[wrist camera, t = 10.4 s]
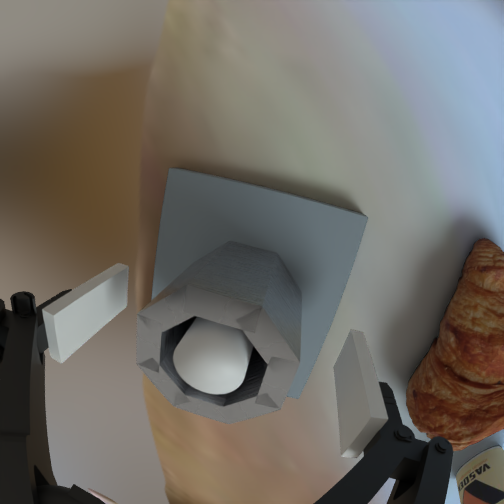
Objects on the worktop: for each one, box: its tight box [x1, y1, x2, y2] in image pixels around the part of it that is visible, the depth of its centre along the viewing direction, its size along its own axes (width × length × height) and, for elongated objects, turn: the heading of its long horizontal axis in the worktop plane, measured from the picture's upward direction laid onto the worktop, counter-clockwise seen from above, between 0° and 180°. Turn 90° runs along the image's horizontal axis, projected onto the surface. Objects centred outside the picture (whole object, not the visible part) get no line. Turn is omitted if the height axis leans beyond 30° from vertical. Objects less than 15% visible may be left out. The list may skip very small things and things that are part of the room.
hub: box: [137, 241, 302, 424], centre depth 15 cm, size 7×7×7 cm
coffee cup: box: [456, 446, 504, 504], centre depth 16 cm, size 9×9×12 cm
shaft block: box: [151, 168, 368, 399], centre depth 16 cm, size 14×12×8 cm
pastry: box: [406, 238, 504, 451], centre depth 15 cm, size 17×15×8 cm
